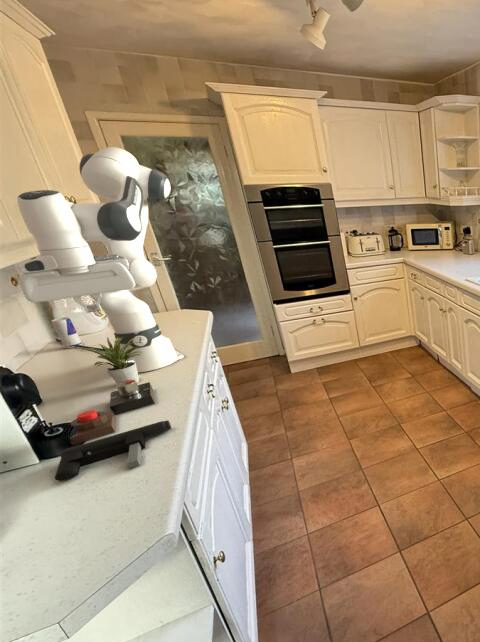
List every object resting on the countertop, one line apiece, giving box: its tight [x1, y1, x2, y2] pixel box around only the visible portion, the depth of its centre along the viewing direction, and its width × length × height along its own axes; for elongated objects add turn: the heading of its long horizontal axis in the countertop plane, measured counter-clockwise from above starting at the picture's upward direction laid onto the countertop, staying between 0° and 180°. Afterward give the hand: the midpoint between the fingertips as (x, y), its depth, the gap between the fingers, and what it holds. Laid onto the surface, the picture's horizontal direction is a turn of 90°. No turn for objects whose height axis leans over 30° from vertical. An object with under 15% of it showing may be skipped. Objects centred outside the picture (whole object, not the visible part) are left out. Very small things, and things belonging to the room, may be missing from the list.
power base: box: [70, 410, 117, 446], centre depth 104 cm, size 10×8×4 cm
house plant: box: [80, 336, 145, 385], centre depth 126 cm, size 14×14×16 cm
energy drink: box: [51, 316, 83, 349], centre depth 163 cm, size 5×5×12 cm
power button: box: [76, 409, 99, 423], centre depth 103 cm, size 4×4×2 cm
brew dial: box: [115, 380, 140, 397], centre depth 116 cm, size 4×4×4 cm
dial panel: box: [109, 381, 156, 416], centre depth 118 cm, size 12×9×3 cm
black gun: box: [54, 419, 172, 482], centre depth 93 cm, size 3×20×16 cm
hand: (94, 311), depth 105 cm, fingers closed
